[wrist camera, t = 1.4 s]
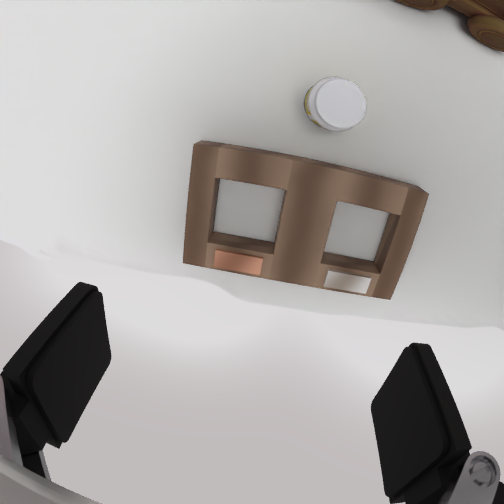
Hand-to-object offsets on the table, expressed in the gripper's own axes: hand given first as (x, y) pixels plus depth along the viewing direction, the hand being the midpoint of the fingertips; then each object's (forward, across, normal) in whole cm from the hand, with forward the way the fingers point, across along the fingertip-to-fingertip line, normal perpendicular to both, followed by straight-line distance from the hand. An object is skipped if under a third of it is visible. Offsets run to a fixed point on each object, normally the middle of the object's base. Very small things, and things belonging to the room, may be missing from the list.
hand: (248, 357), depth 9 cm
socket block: (+26, -4, +4) cm, 27 cm away
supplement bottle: (+26, -4, -8) cm, 28 cm away
